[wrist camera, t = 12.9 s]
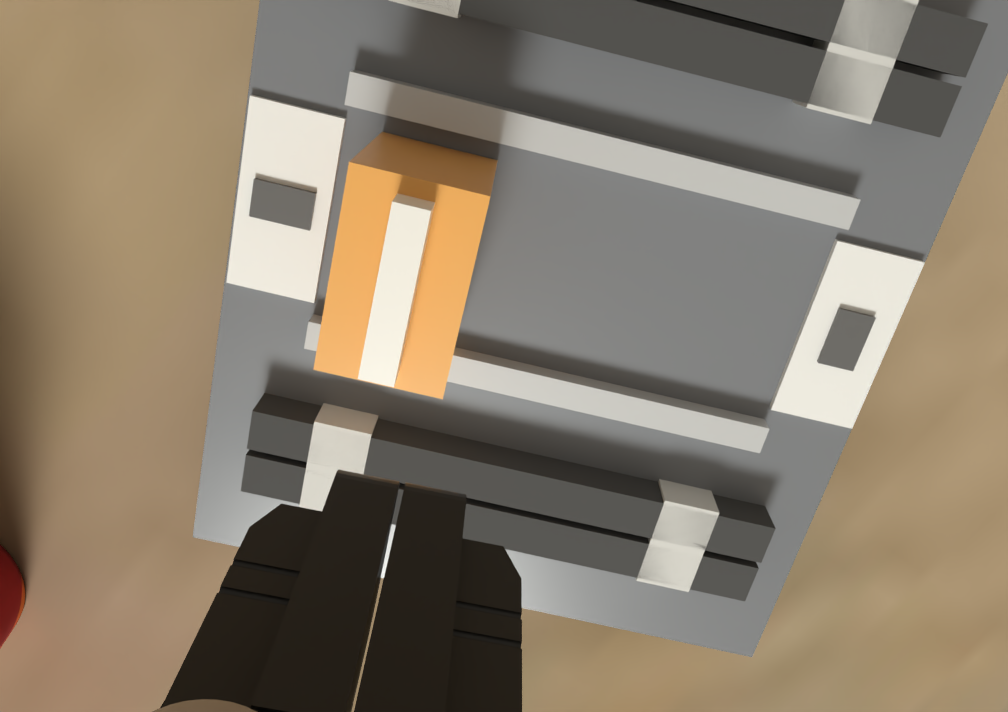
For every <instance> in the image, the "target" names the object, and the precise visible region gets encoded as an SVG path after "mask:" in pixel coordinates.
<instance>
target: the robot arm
mask: <svg viewBox="0 0 1008 712" xmlns="http://www.w3.org/2000/svg"><path fill="white" fill-rule="evenodd" d="M399 484H400V481H395V480H390V479H385V478H380V477H375V476H370V475H364V474H359V473H354V472H349V471H344V470H339V469H338V470H337V472H336V475H335V477H334V480H333V483H332V486H331V488H330V491H329V494H328V496H327V499H326V502H325V505H324V507H323V510H322V511H317V510H312V509H307V508H302V507H297V506H292V505H287V504H280V505H279V506H277V507H276V508H275V509H273V510H272V511H270V512H269V513H268V514H266V515H265V516H264V517H262V518H261V519H260V520H258V521H257V522H255V523H254V524H253V525H251V526H250V527H249V529H248V531H247V533H246V535H245V537H244V539H243V541H242V543H241V545H240V547H239V549H238V551H237V554H236V556H235V558H234V561H233V565H231V566H230V568H229V570H228V572H227V574H226V576H225V578H224V580H223V582H222V584H221V587H220V591H219V593H217V595H216V597H215V599H214V601H213V603H212V605H211V607H210V609H209V611H208V613H207V615H206V617H205V619H204V621H203V623H202V625H201V627H200V629H199V631H198V633H197V636H196V638H195V640H194V642H193V644H192V646H191V648H190V650H189V652H188V654H187V656H186V658H185V660H184V662H183V664H182V666H181V668H180V670H179V672H178V674H177V676H176V679H175V681H174V683H173V685H172V687H171V689H170V691H169V693H168V695H167V697H166V699H165V701H164V703H163V704H162V706H161V707H160V709H157V710H155V711H153V712H351V710H352V706H353V701H354V697H355V693H356V688H357V684H358V680H359V675H360V671H361V666H362V662H363V658H364V653H365V649H366V644H367V640H368V636H369V631H370V626H371V622H372V617H373V612H374V608H375V603H376V598H377V593H378V589H379V584H380V579H381V574H382V569H383V564H384V559H385V554H386V549H387V544H388V539H389V534H390V529H391V525H392V520H393V515H394V510H395V505H396V500H397V495H398V490H399ZM466 498H467V495H466V494H462V493H457V492H452V491H447V490H442V489H437V488H432V487H426V486H421V485H416V484H411V483H405V487H404V491H403V496H402V500H401V505H400V509H399V513H398V518H397V522H396V527H395V531H394V536H393V540H392V545H391V549H390V554H389V558H388V563H387V567H386V571H385V576H384V580H383V585H382V589H381V594H380V598H379V603H378V607H377V612H376V616H375V621H374V625H373V629H372V634H371V638H370V643H369V647H368V652H367V656H366V661H365V665H364V670H363V674H362V679H361V683H360V688H359V692H358V696H357V701H356V705H355V710H354V712H522V649H521V642H522V620H521V613H522V579H521V577H520V575H519V573H518V571H517V570H516V568H515V566H514V564H513V563H512V561H511V559H510V557H509V555H508V554H507V552H506V550H505V548H504V546H499V545H494V544H489V543H484V542H479V541H474V540H468V539H463V528H464V519H465V509H466Z"/></svg>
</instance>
